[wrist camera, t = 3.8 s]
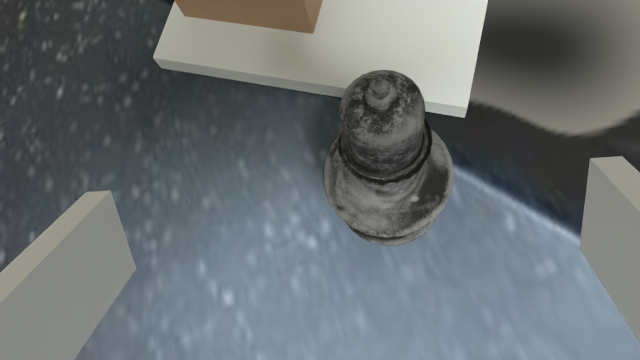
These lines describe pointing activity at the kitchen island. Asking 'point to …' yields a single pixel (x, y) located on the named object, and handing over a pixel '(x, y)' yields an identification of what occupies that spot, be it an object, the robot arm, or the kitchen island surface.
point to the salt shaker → (387, 161)
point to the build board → (329, 44)
